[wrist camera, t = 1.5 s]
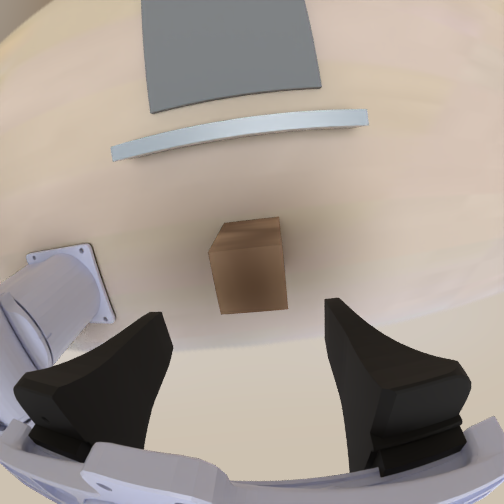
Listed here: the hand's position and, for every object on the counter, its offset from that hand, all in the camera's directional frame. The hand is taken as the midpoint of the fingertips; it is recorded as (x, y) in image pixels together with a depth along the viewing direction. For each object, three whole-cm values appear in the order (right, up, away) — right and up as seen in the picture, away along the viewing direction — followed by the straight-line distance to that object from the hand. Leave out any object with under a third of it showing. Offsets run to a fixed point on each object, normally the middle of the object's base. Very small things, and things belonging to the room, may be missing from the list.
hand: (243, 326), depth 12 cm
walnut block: (+1, +4, +10) cm, 10 cm away
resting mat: (-2, +19, +4) cm, 20 cm away
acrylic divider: (0, +12, +7) cm, 13 cm away
